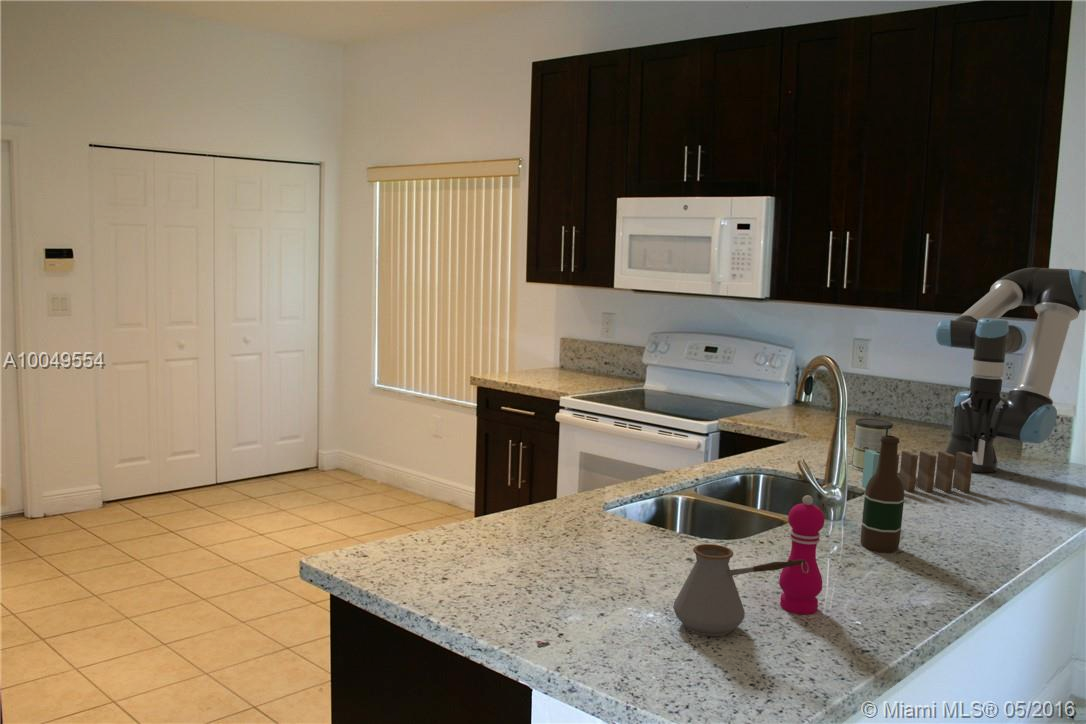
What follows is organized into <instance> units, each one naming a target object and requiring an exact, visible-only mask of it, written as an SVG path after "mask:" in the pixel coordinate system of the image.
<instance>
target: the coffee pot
mask: <svg viewBox="0 0 1086 724" xmlns="http://www.w3.org/2000/svg"><path fill="white" fill-rule="evenodd" d="M692 551H693V553H694V554H695V560H696V561H695V563H694V565H693V566H692V568H691V570H690V572H689V574H688V576H687V578H686V579H685V581H684V583H683V586H682V587H681V589H680V591H679V593H678V594H677V596H676V598H675V600H674V603H673V605H672V606H673V607H672V608H673V610H674V613H675V615H676V616H675V617H676V618H677V619H678V620H679V621H680V622H681V624H683V625H684V627H685V628H686V629H687V630H688V631H690V632H693V633H696V634H698V635H702V636H707V637H720V636H721V637H722V636H725V635H726V636H727V635H728V634H730V633H731V632H732V631H733V630H735V629H736V628H737V627H739V626H740V625H741V624H742V622H743V621H744V619H745V615H746V612H745V608H744V606H743V602H742V600H741V597H740V594H739V591H738V589H737V586H736V582H735V580H734V577H733V576H737V575H743V574H748V573H759V572H760V573H761V572H768V571H769V572H770V571H779V570H782V569H783V568H785V567H788V566H789V567H790V568H792V567H793V566H794V565H801V568H802V571H803V572H804V570H803V564H805V563H806V564H807V568H808V569H807V572H804V573H808V571H809V566H808V563H807V562H806V561H805V560H796V561H792V560H788V559H787V560H788V562H787V561H772V562H768V563H764V564H758V565H755V566H751V567H743V568H742V567H741V568H734V569H730V568H731V567H730V565H729V563H730V560H731V558H732V557H733V556H734V551H733V550H732V549H731V548H728V547H726V546H723V545H720V544H714V543H712V544H710V543H703V544H697V545H695V546H694V547H693V548H692Z"/></svg>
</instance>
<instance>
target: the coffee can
mask: <svg viewBox="0 0 1086 724" xmlns="http://www.w3.org/2000/svg"><path fill="white" fill-rule="evenodd" d="M893 427H894V423H893V422H892V421H888V420H884V419H878V418H867V417H866V418H864V417H863V418H857V419H855V427H854V438H853V439H854V440H853V451H852V462H851V468H852V469H853V470H856V471H858V472H862V473H863V468H864V458H865V450H872V451H874V452H877V453H879V454H880V449H881V443H882V442H881V441H880V439H881V437H882V436H885V435H891V436H893V435H892V433H893Z"/></svg>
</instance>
